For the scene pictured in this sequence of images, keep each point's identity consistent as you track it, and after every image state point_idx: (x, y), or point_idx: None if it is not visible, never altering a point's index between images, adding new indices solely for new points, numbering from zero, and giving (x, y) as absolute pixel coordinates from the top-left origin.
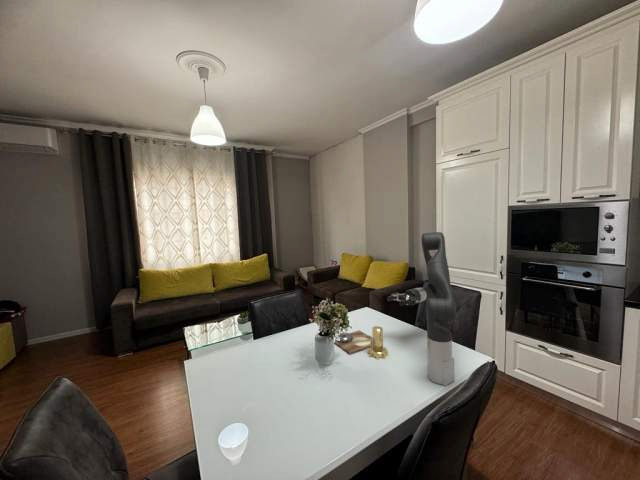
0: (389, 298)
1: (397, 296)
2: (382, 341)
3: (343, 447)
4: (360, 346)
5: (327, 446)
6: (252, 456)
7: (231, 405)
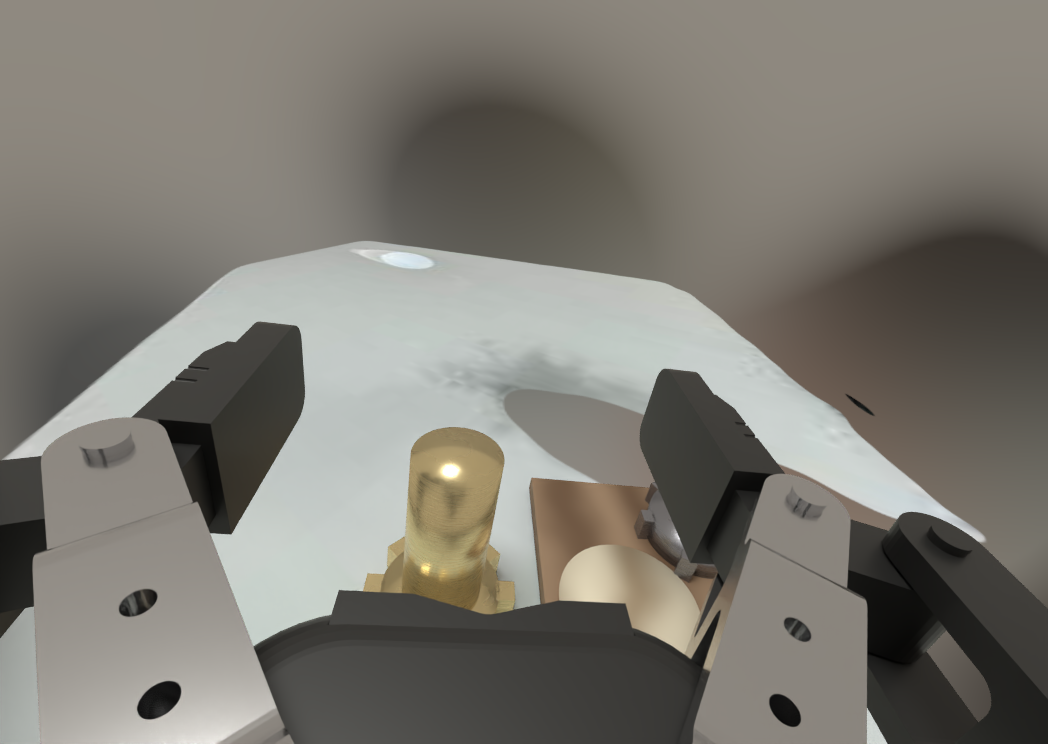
0: (664, 413)
1: (722, 598)
2: (406, 541)
3: (214, 296)
4: (564, 554)
5: (247, 289)
6: (343, 256)
7: (481, 273)
